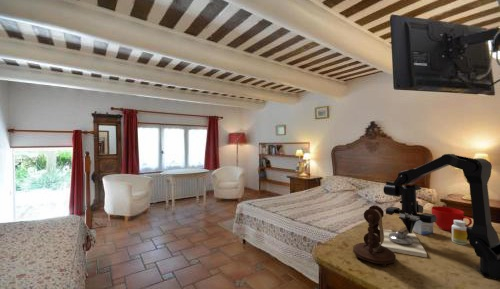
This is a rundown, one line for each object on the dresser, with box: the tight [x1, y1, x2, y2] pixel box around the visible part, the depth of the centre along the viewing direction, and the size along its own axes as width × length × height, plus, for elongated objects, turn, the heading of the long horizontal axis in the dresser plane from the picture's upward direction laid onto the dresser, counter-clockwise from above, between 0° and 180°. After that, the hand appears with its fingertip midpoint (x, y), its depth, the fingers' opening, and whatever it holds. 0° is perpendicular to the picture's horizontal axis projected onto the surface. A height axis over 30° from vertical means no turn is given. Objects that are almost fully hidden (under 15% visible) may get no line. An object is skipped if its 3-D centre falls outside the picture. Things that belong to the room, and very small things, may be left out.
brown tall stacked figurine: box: [352, 204, 396, 268], centre depth 91 cm, size 15×15×20 cm
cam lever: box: [389, 226, 413, 245], centre depth 104 cm, size 15×9×4 cm, turn 128°
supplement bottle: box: [451, 220, 468, 246], centre depth 104 cm, size 5×5×10 cm
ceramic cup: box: [431, 205, 473, 232], centre depth 119 cm, size 13×17×10 cm
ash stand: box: [378, 228, 428, 258], centre depth 104 cm, size 22×16×2 cm
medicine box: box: [412, 220, 434, 236], centre depth 116 cm, size 8×4×9 cm, turn 105°
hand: (410, 233), depth 104 cm, fingers closed
